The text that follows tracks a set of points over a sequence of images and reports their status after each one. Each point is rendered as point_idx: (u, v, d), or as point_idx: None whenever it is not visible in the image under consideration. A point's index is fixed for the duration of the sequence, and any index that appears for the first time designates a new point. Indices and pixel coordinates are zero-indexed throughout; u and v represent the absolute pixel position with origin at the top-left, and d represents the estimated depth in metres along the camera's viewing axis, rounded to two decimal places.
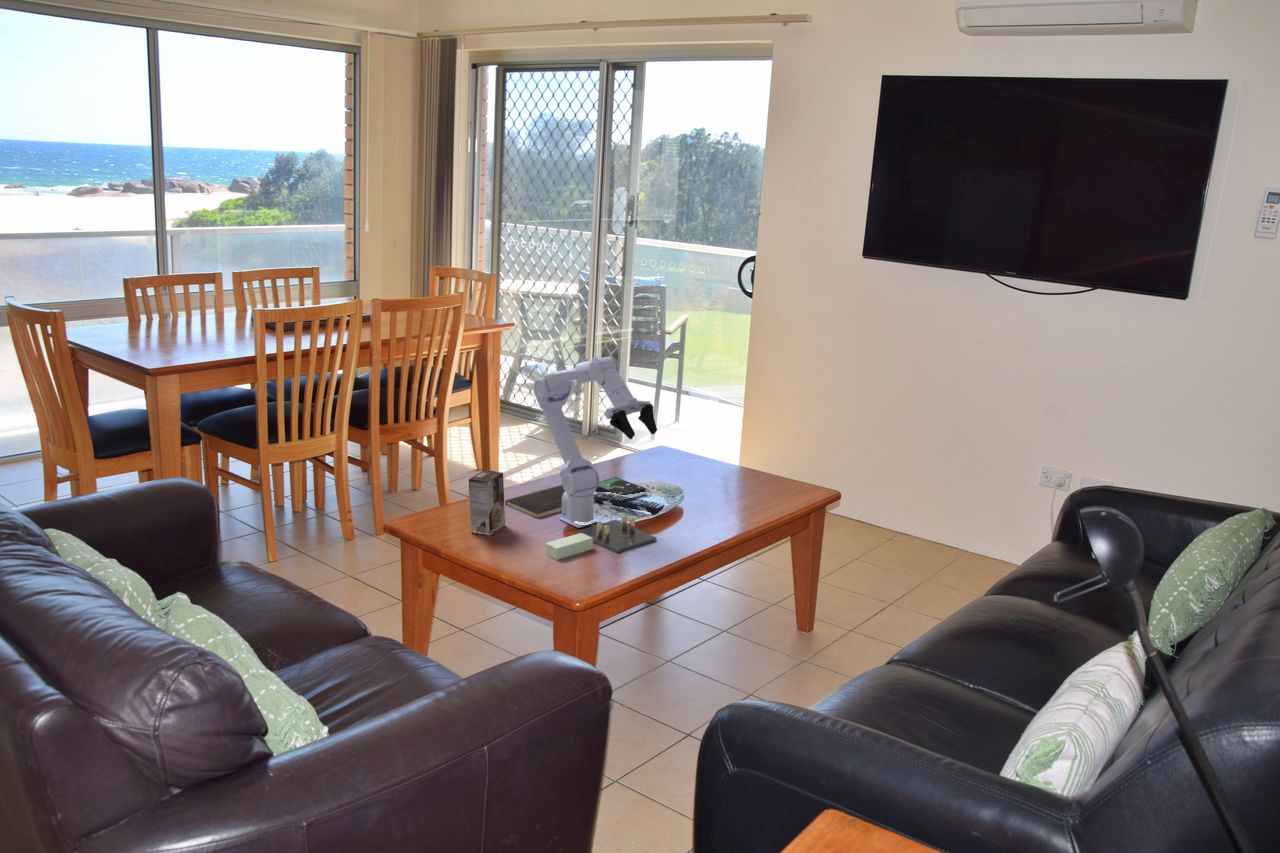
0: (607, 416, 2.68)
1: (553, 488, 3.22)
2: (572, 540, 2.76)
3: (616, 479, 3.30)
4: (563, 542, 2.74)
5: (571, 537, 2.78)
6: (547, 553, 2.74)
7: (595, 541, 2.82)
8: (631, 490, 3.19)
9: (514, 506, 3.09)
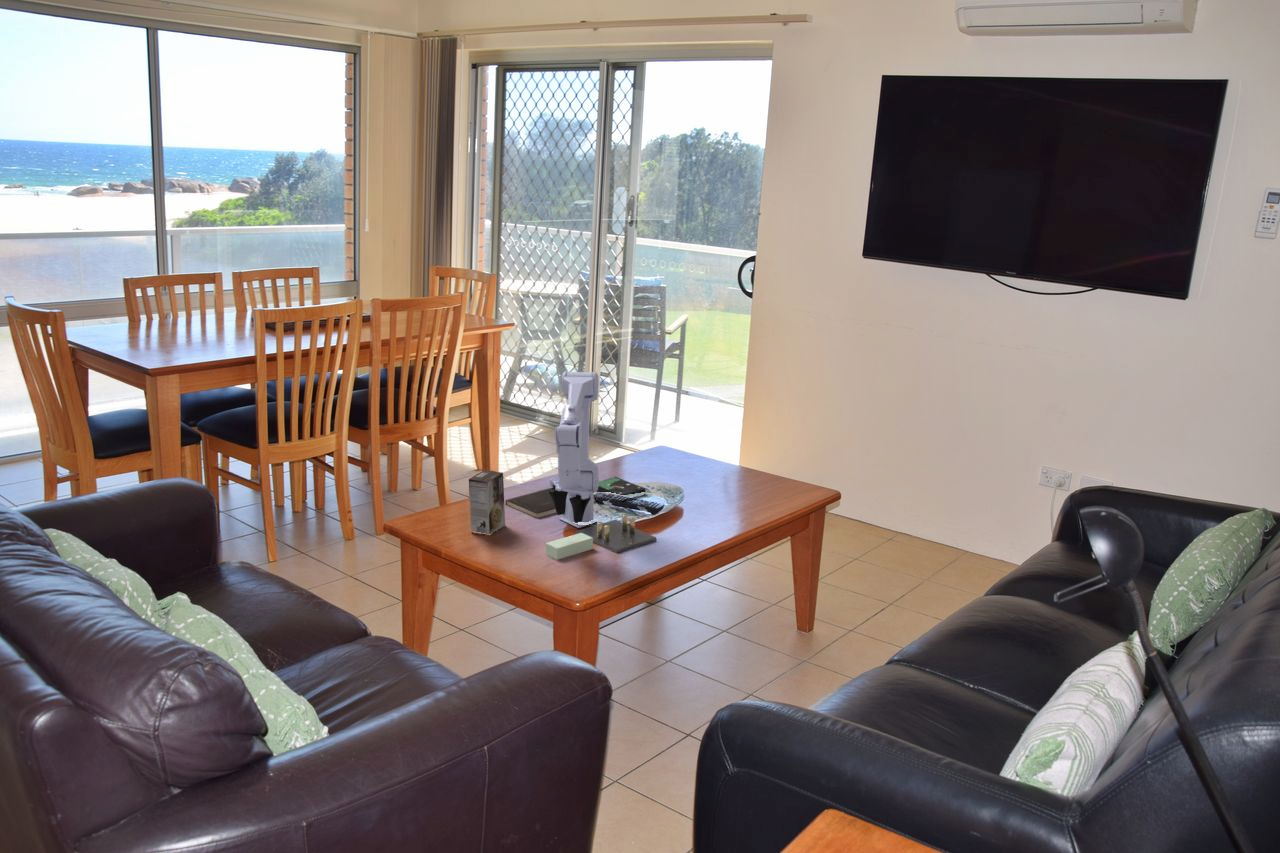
0: None
1: None
2: (572, 540, 2.76)
3: (616, 479, 3.30)
4: (563, 542, 2.74)
5: (571, 537, 2.78)
6: (547, 553, 2.74)
7: (595, 541, 2.82)
8: (631, 490, 3.19)
9: (514, 506, 3.09)
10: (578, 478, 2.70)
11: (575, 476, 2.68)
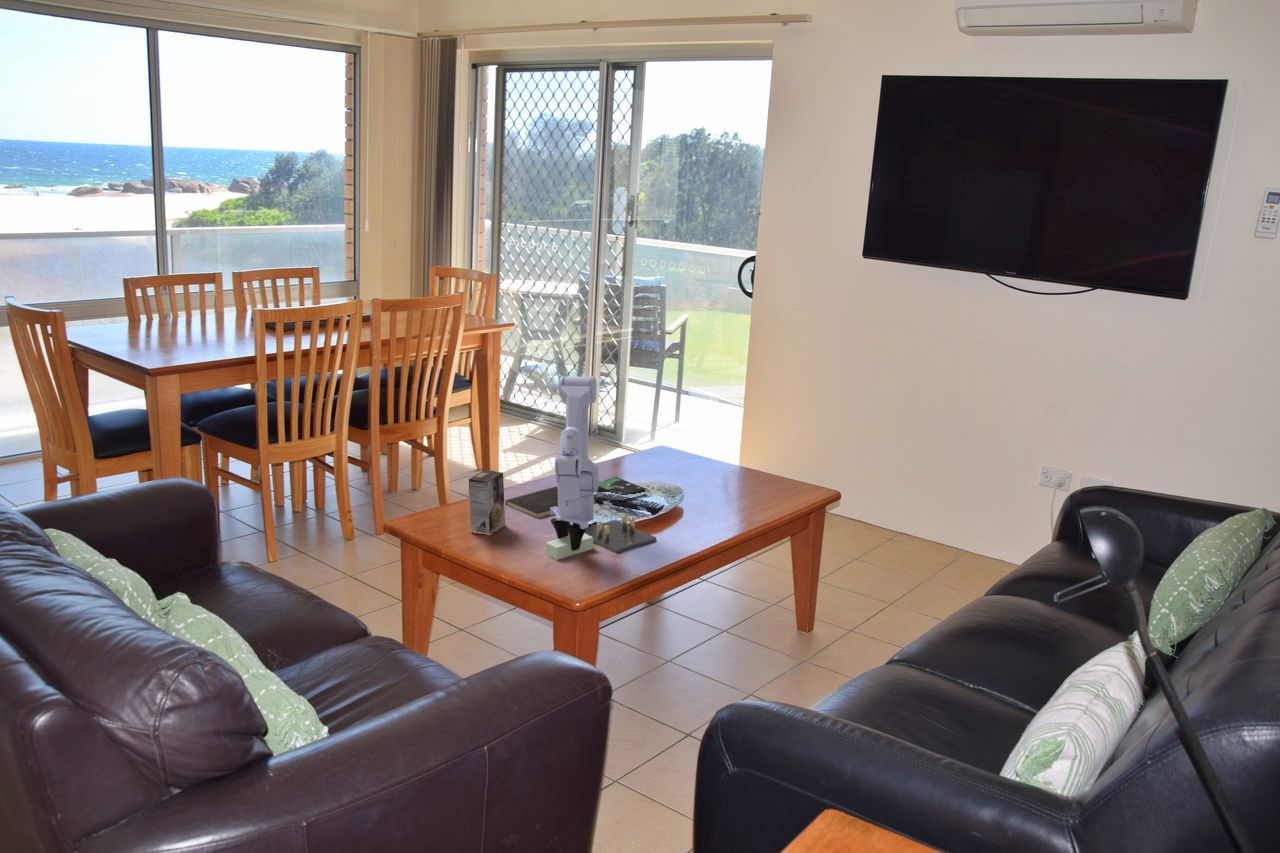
0: None
1: (553, 488, 3.22)
2: None
3: (617, 479, 3.30)
4: (563, 541, 2.74)
5: None
6: (547, 552, 2.74)
7: (595, 541, 2.82)
8: (631, 490, 3.19)
9: (514, 506, 3.09)
10: (578, 507, 2.72)
11: (574, 506, 2.71)
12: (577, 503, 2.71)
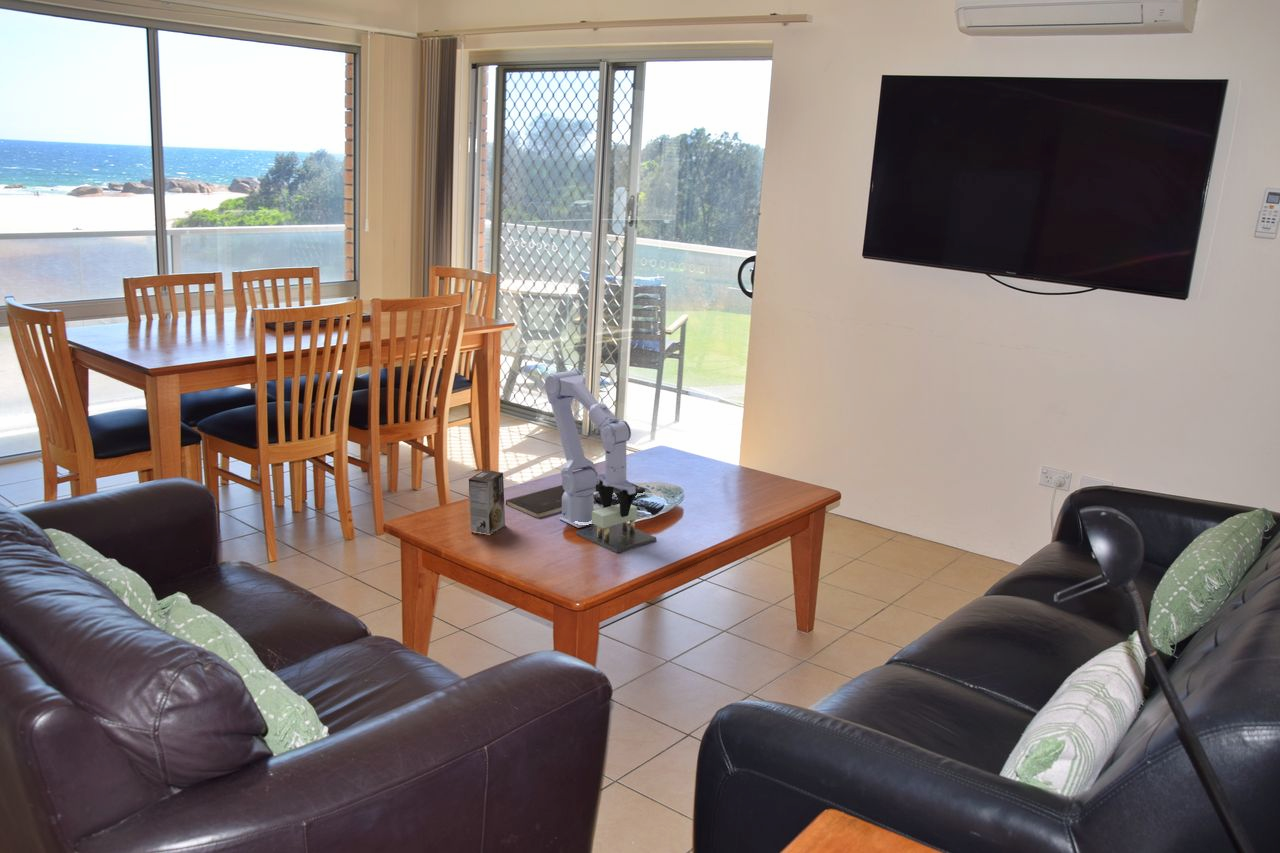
0: None
1: (554, 488, 3.22)
2: (617, 509, 2.84)
3: None
4: (608, 510, 2.83)
5: (616, 506, 2.86)
6: (593, 521, 2.82)
7: (595, 541, 2.82)
8: None
9: (514, 506, 3.09)
10: (625, 474, 2.80)
11: (621, 472, 2.79)
12: (624, 470, 2.80)
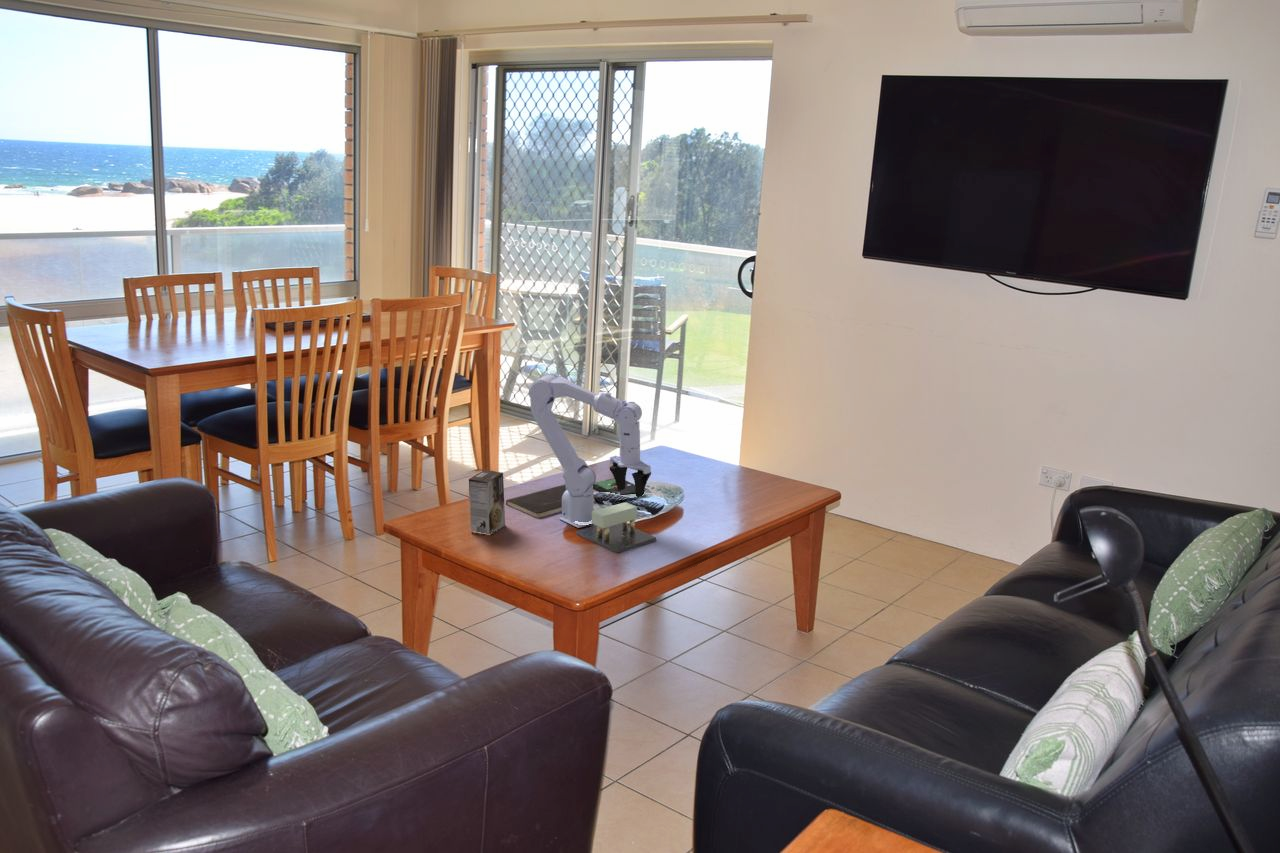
0: None
1: (554, 488, 3.22)
2: (617, 509, 2.84)
3: None
4: (608, 510, 2.83)
5: (616, 506, 2.86)
6: (593, 521, 2.82)
7: (595, 541, 2.82)
8: (630, 491, 3.19)
9: (515, 506, 3.09)
10: (639, 454, 2.88)
11: (636, 453, 2.86)
12: (638, 450, 2.87)
